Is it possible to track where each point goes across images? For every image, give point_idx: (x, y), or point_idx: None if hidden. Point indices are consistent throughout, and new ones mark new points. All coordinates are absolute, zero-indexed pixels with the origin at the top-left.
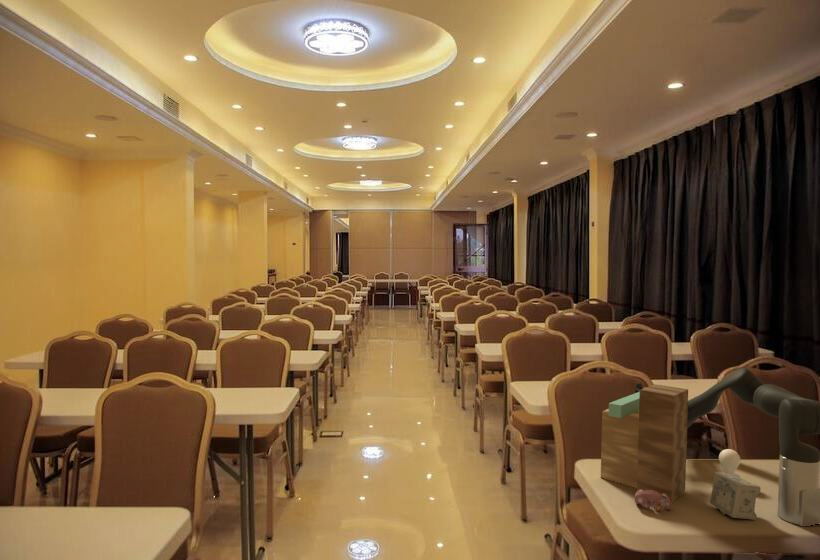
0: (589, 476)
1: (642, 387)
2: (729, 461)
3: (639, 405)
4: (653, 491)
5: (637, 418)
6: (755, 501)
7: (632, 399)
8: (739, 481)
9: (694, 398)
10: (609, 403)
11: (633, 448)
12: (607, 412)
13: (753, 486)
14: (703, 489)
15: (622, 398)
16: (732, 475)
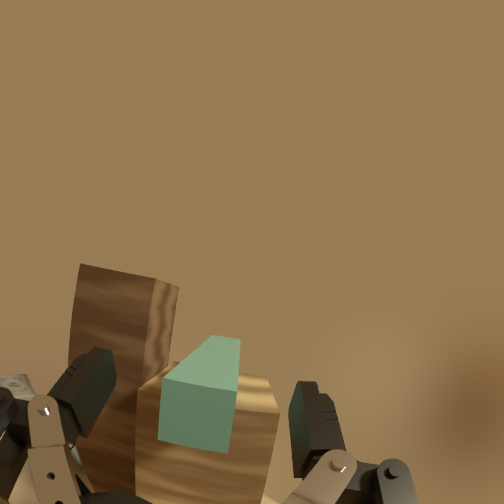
0: (263, 498)
1: (304, 450)
2: None
3: (173, 318)
4: None
5: (177, 362)
6: None
7: (210, 345)
8: (16, 380)
9: None
10: (238, 339)
11: None
12: (252, 375)
13: (4, 375)
14: (33, 494)
15: (237, 348)
16: (12, 391)
